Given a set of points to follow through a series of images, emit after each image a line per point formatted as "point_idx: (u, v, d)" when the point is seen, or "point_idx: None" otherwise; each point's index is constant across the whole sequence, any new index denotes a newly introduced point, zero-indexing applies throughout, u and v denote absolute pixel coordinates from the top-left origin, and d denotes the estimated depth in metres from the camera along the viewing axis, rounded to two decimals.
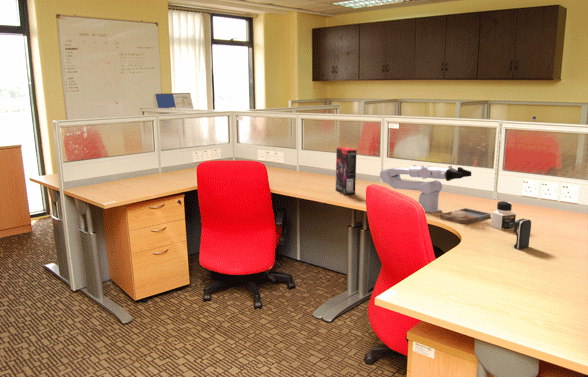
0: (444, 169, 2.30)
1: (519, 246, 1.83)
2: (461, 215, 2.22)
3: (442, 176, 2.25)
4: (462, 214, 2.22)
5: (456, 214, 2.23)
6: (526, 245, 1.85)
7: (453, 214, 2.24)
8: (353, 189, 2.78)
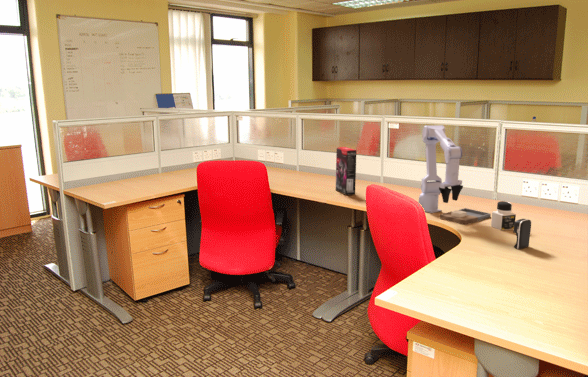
0: (453, 179, 2.13)
1: (519, 246, 1.83)
2: (461, 215, 2.22)
3: (441, 185, 2.12)
4: (462, 214, 2.22)
5: (456, 214, 2.23)
6: (526, 245, 1.85)
7: (453, 214, 2.24)
8: (353, 189, 2.78)
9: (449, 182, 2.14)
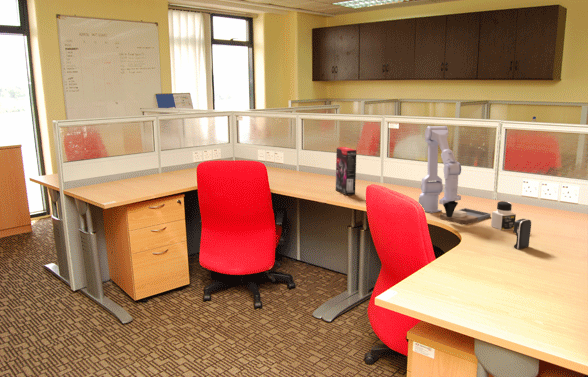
0: (451, 195, 2.15)
1: (519, 246, 1.83)
2: (461, 215, 2.22)
3: (440, 201, 2.14)
4: (462, 214, 2.22)
5: (456, 214, 2.23)
6: (526, 245, 1.85)
7: (453, 214, 2.24)
8: (353, 189, 2.78)
9: (448, 198, 2.15)
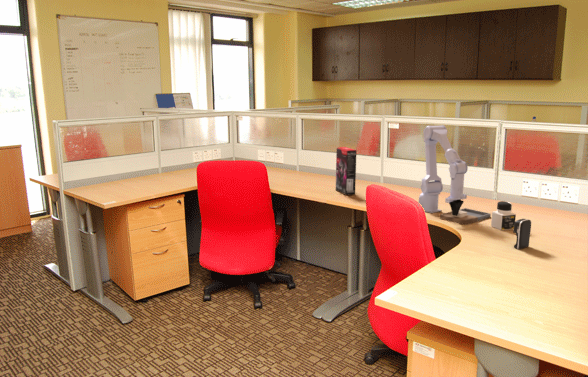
0: (457, 194, 2.18)
1: (519, 246, 1.83)
2: (461, 215, 2.22)
3: (446, 200, 2.17)
4: (462, 214, 2.22)
5: None
6: (526, 245, 1.85)
7: None
8: (353, 189, 2.78)
9: (454, 196, 2.18)
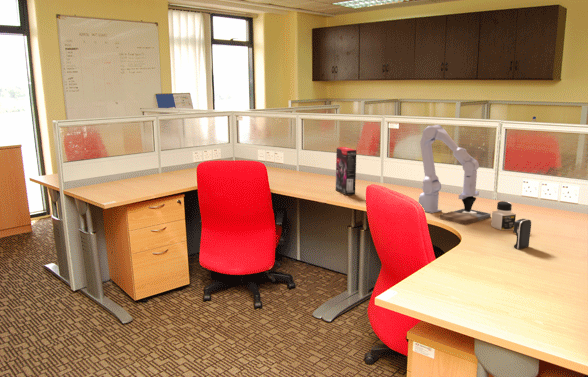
0: (470, 190, 2.24)
1: (519, 246, 1.83)
2: (471, 215, 2.27)
3: (459, 197, 2.23)
4: (472, 214, 2.28)
5: (467, 214, 2.28)
6: (526, 245, 1.85)
7: None
8: (353, 189, 2.78)
9: (467, 193, 2.25)
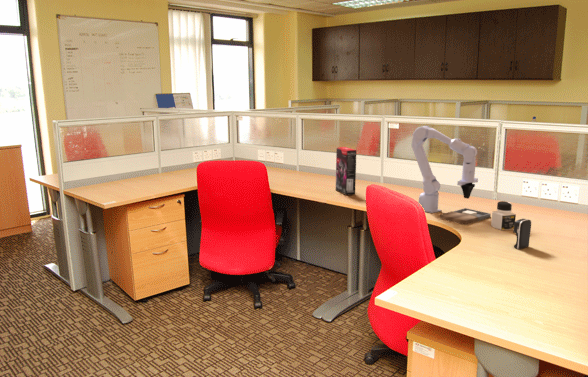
0: (469, 177, 2.26)
1: (519, 246, 1.83)
2: (471, 215, 2.27)
3: (458, 183, 2.26)
4: (472, 214, 2.28)
5: (467, 214, 2.28)
6: (526, 245, 1.85)
7: None
8: (353, 189, 2.78)
9: (466, 180, 2.27)
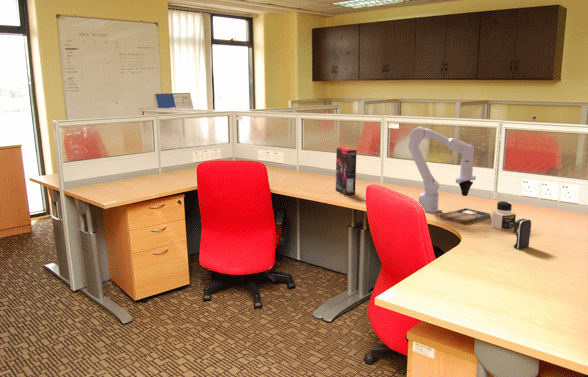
0: (467, 175, 2.29)
1: (519, 246, 1.83)
2: (471, 215, 2.27)
3: (456, 181, 2.29)
4: (472, 214, 2.28)
5: (467, 214, 2.28)
6: (526, 245, 1.85)
7: None
8: (353, 189, 2.78)
9: (464, 177, 2.30)
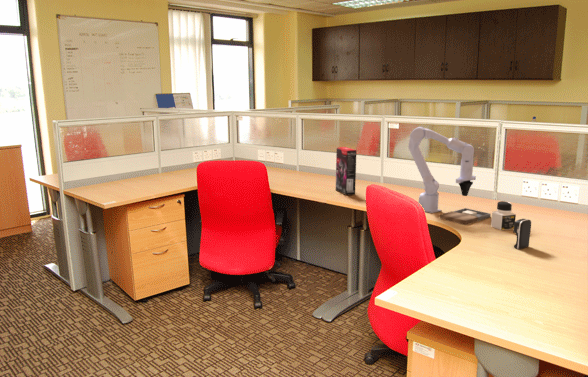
0: (467, 175, 2.29)
1: (519, 246, 1.83)
2: (471, 215, 2.27)
3: (456, 181, 2.29)
4: (472, 214, 2.28)
5: (467, 214, 2.28)
6: (526, 245, 1.85)
7: None
8: (353, 189, 2.78)
9: (464, 177, 2.30)
